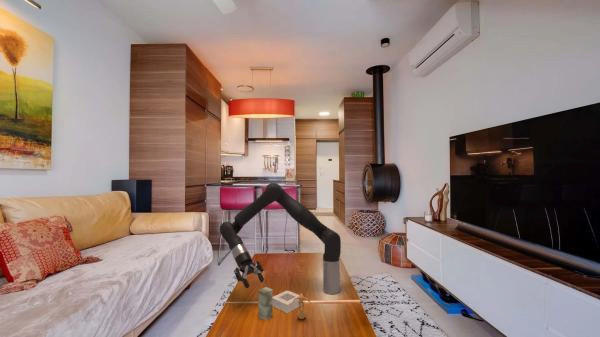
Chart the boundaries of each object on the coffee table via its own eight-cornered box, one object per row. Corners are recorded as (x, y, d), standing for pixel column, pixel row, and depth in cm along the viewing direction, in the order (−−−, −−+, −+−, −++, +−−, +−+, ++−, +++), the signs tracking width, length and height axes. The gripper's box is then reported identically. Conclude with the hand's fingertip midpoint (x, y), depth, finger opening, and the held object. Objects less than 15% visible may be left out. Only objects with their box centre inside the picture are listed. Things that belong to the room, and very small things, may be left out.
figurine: (310, 316, 118) (310, 289, 118) (310, 323, 112) (310, 295, 112) (292, 316, 118) (292, 289, 118) (291, 323, 112) (291, 295, 112)
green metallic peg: (266, 313, 121) (266, 287, 121) (272, 316, 118) (272, 289, 118) (258, 316, 117) (258, 290, 118) (264, 320, 114) (264, 293, 115)
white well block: (287, 298, 136) (287, 290, 136) (302, 304, 128) (302, 296, 128) (271, 305, 127) (271, 297, 128) (287, 313, 120) (287, 304, 120)
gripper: (232, 254, 124) (246, 285, 116) (255, 248, 135) (270, 276, 126) (226, 263, 127) (239, 293, 119) (249, 256, 138) (263, 284, 130)
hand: (255, 284), depth 123 cm, fingers open, 8 cm apart
